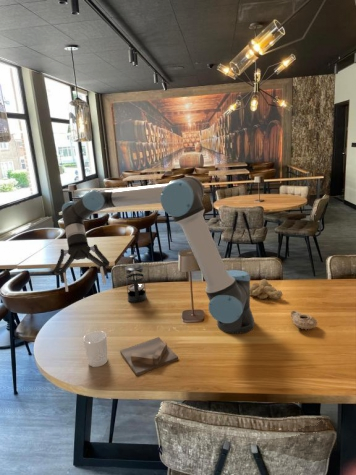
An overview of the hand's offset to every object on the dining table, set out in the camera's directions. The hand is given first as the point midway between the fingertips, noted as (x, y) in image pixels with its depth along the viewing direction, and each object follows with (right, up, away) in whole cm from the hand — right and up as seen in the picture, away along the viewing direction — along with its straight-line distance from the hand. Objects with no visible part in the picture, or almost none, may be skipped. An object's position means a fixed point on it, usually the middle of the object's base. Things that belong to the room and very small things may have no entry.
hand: (86, 286), depth 126 cm
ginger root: (+75, -10, +41) cm, 86 cm away
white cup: (+5, -26, -3) cm, 27 cm away
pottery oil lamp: (+84, -18, +12) cm, 87 cm away
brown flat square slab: (+23, -25, -2) cm, 34 cm away
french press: (+13, -13, +45) cm, 49 cm away
